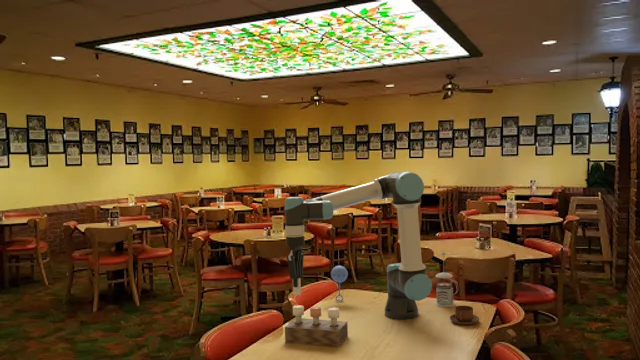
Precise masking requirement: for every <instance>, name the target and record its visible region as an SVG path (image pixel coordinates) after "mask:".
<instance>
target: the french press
mask: <svg viewBox="0 0 640 360" xmlns="http://www.w3.org/2000/svg"><path fill="white" fill-rule="evenodd" d="M440 255H441V256H442V261H443V263H442V264H443V265H442V266H443V269H445V262H444V261H445V260H444V256H446V253H445V252H441V254H440ZM453 276H454V275H453V274H451V273H449V272H445V271H443V272H439V273H437V274H435V278H437V279H440V280H441V279H442V280H446V279H451V278H453ZM453 283H454V284H455V287H456V290H455V293H454V287H453ZM458 286H459V284H458V282H457V281H456V280H455V279H454V278H453V279H451V280H450V282H445V281H442V282H437V284H436V289H435V290H436V302H435V303H434V305H435V306H437V307H440V308H450V307H451V308H452V307H456V306H457V305H456V303H455V302H454V295H456V294H458V292H459V290H458Z"/></svg>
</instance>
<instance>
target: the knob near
mask: <svg viewBox="0 0 640 360" xmlns="http://www.w3.org/2000/svg"><path fill="white" fill-rule="evenodd" d="M327 317H328V319H330V320H331V327H337V321H338V319H339V318H340V308H339V307H330V308H329V307H328V309H327Z"/></svg>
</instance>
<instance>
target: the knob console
mask: <svg viewBox="0 0 640 360" xmlns="http://www.w3.org/2000/svg"><path fill="white" fill-rule="evenodd" d="M348 329H349V328H348V321H342V320H337V327H331V319H330V320H329V319H319V326H313V318H302V324H296V318H294V320H292V321H290V322H289V323H288V324H287V325H285V326H284V341H285V343H289V344H300V345H301V344H303V345H310V346H311V345H313V346H320V347H323V346H324V347H330V348H331V347H333V348H340V346H341V345H342V344H343V343H344V342H345V341H346V340H347V338H348V337H349V331H348Z"/></svg>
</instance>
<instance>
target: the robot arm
mask: <svg viewBox="0 0 640 360" xmlns="http://www.w3.org/2000/svg"><path fill="white" fill-rule="evenodd" d="M424 184H425V183H424V181H423V179H422V178H421V176H420V175H418V174H417V173H415V172H412V171H394V172H391V173H388V174H386V175H383V176H379V177H377V178H374V179H372V181H370V182H367V183H363V184H360V185H357V186H353V187H350V188H346V189H343V190H339V191H334V192H331V193H327V194H325V195H321V196H317V197H315V198H314V197H313V198H307V199H305V200H304V197H302V196H289V197H286V198H285V200H284V221H285V227H284V230H285V235H286V236H285V245H286V246H287V247H289V252H288V254H289V255H286V260H287V265H288V272H289V273H288V274H289V279H292V294H293V296H301V295H302V289H301V286H302V285H301V282H302V281H301V278H303V272H304V258H305V250H302V247H303V246H305V245H306V243H305V241H306V240H305V236H304V235H305V233H306V232H305V221H313V220H314V221H315V220H316V221H317V220H318V221H319V220H325V221H326V220H330V219H332V218H333V216H334V211H337V210H341V209H345V208H348V207H352V206H356V205H358V204H362V203H365V202H368V201H369V202H370V201H372V200H375V199H377V200H378V201H381V200H383V199H392V205H393V206H394V207H395V208H396V211H397V224H398V236H399V247H400V257H401V259H400V260H401V261H400V262H398V263H391V264H387V267H386V279H387V281H386V282H387V283H386V284H387V285H386V286H387V299H386V303H385V306H384V315H385V316H386V317H387V318H391V319H396V320H397V319H398V320H405V319H406V320H407V319H413V318H416V317H418V316H419V308H418V305H417V302H419V301H422V300H424V299H426V298H427V297H428V296H429V295H430V294H431V291H432V288H433V283H432V280H431V278H430V277H429V276H428V272H427V266H426V264H424V263H423V258H422V257H423V256H422V250H421V249H422V247H421V236H420V235H421V234H420V232H421V231H420V223H419V222H420V221H419V220H420V219H419V208H418V207H419V206H420V204H421V202H422V201H421V197H422V195H423V193H424V191H425V185H424ZM416 301H417V302H416Z"/></svg>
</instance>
